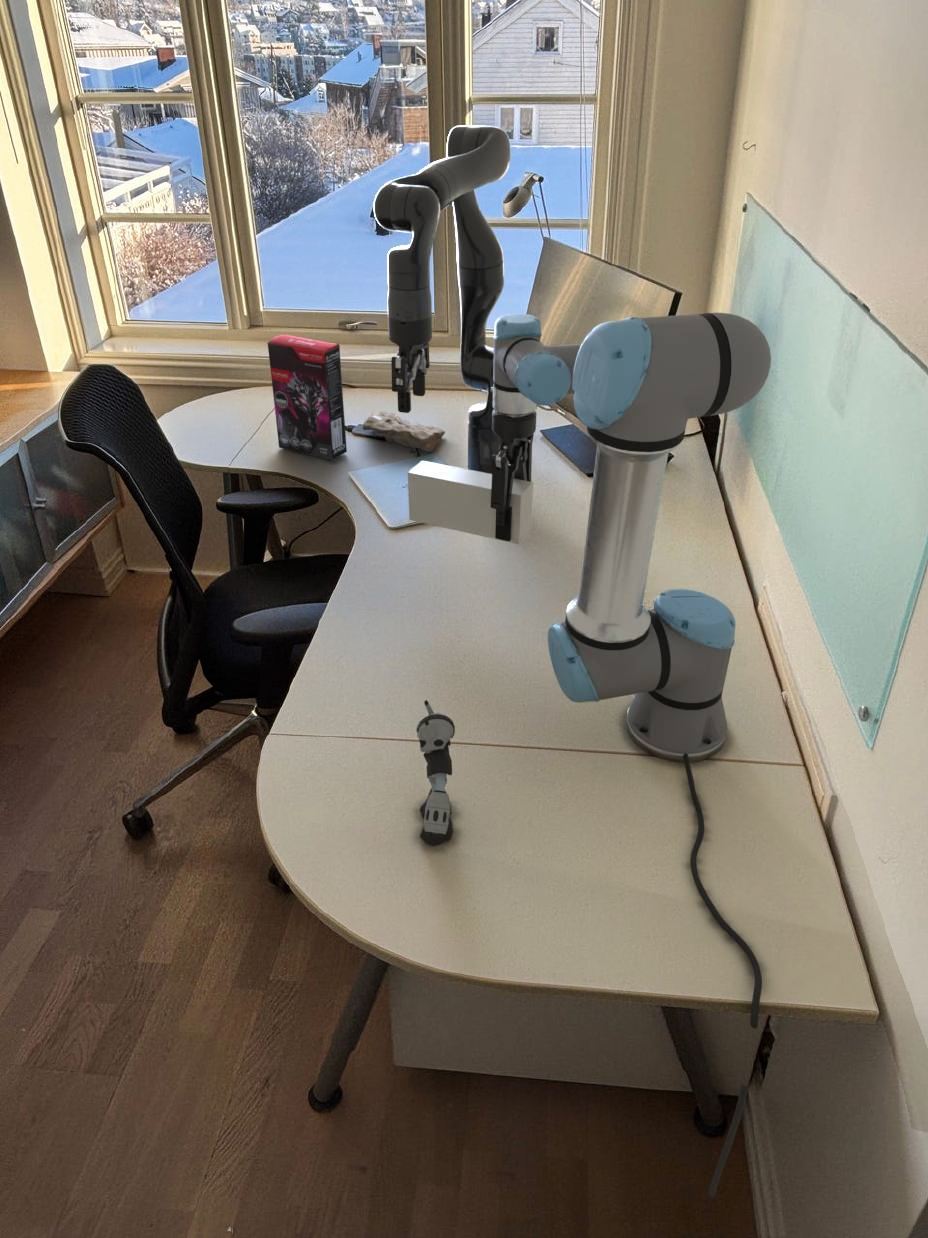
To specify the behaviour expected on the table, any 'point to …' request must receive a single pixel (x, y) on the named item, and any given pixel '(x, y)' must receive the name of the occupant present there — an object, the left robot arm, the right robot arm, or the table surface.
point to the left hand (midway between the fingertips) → (411, 403)
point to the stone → (403, 431)
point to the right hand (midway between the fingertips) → (510, 530)
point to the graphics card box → (308, 395)
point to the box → (465, 500)
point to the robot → (436, 775)
